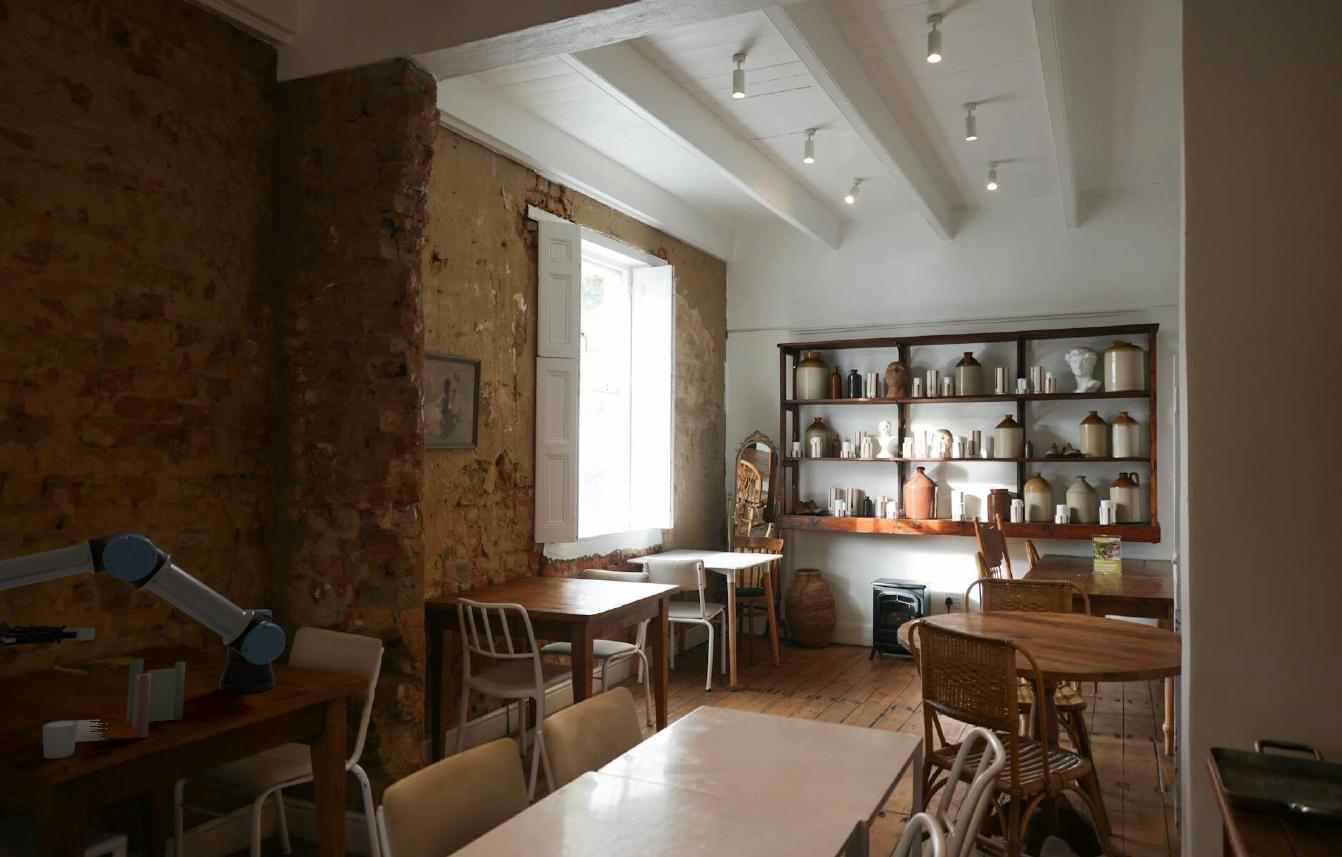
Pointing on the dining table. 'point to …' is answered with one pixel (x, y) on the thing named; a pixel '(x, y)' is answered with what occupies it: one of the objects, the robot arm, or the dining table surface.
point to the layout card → (88, 731)
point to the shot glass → (59, 738)
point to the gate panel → (141, 704)
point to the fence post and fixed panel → (160, 692)
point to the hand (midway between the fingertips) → (93, 633)
